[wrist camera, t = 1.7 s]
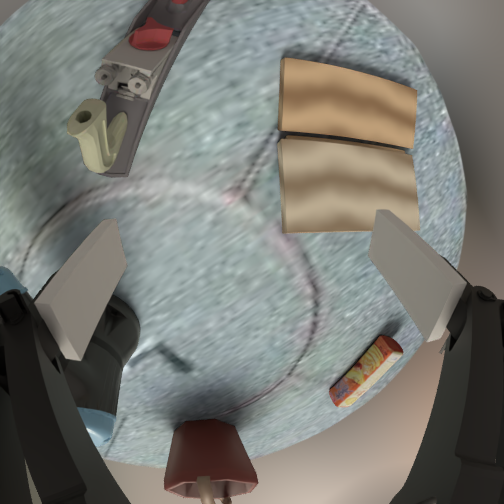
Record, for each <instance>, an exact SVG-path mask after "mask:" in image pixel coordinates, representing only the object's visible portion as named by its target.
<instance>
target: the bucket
mask: <svg viewBox="0 0 504 504" xmlns="http://www.w3.org/2000/svg"><path fill="white" fill-rule="evenodd" d="M257 484H258V479H257V474H256V472H255V470H254V468H253V466H252V463H251V461H250V459H249V457H248V455H247V453H246V450H245V448H244V446H243V444H242V442H241V439H240V437H239V435H238V432H237V430H236V428H235V426H233V425H230V424H227V423H225V422H222V421H219V420H217V419H207V420H195V421H185V422H184V423H183V424H182V425H181V426H180V427H179V428H177V429H176V430H175V431H174V434H173V438H172V443H171V448H170V453H169V457H168V462H167V467H166V472H165V477H164V489H165V490H166V491H169V492H171V493H174V494H176V495H178V496H181V497H183V498H200V499H201V502H202V504H215V502H214V499H220V500H221V502H222V503H223V504H231V503H232V501H231V498H230V497H232V496H236V495H241V494H246V493H249V492H251V491H252V490H253V489H254V488H255V487H256V485H257Z"/></svg>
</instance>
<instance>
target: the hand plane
mask: <svg viewBox="0 0 504 504" xmlns="http://www.w3.org/2000/svg"><path fill="white" fill-rule="evenodd" d="M209 1H210V0H149V1H148V2H147V3H146V4H145V6H144V7H143V8H142V9H141V10H140V12H139V13H138V14H137V15H136V16H135V18H134V19H133V21H132V23H131V25H130V27H129V29H128V31H127V33H126V36H125V38H124V39H123V40H122V41H121V42H120V43H119V44H118V45H116V46H115V47H114V48H113V49H112V50H111V51H110V52H109V53H108V54H107V55H106V56H105V57H104V58H103V59H102V66H101V67H100V68H99V69H98V70H97V72H96V74H95V79H96V81H97V82H98V83H99V84H101V85H105V87H104V89H103V92H102V95H101V98H100V100H98V99H87V100H84V101H83V102H82V103H81V105H80V106H79V107H78V108H77V109H76V110H75V112H74V113H73V114H72V115H71V116H70V119H69V121H68V123H67V134H69V135H71V136H73V137H76V138H77V139H78V140H79V144H80V148H81V152H82V156H83V160H84V164H85V165H86V166H87V168H88V169H89V170H91V171H93V172H96V173H98V174H100V175H104V176H108V177H111V178H112V177H128V174H129V171H130V168H131V165H132V162H133V159H134V156H135V153H136V150H137V148H138V145H139V142H140V139H141V137H142V134H143V131H144V129H145V126H146V124H147V121H148V119H149V116H150V114H151V111H152V109H153V107H154V104H155V102H156V100H157V97H158V95H159V93H160V91H161V88H162V86H163V84H164V82H165V80H166V78H167V75H168V73H169V71H170V69H171V67H172V65H173V63H174V61H175V59H176V57H177V56H178V54H179V52H180V50H181V48H182V46H183V44H184V42H185V41H186V39H187V37H188V35H189V34H190V32H191V30H192V28H193V27H194V25H195V23H196V22H197V20H198V18H199V17H200V15H201V13H202V12H203V10H204V9H205V7H206V5H207V4H208V2H209ZM144 23H146V24H145V25H144V26H143V24H144ZM173 30H174V31H178V32H181V34H180V35H179V37H176V36H173V35H172V33H173Z"/></svg>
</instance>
